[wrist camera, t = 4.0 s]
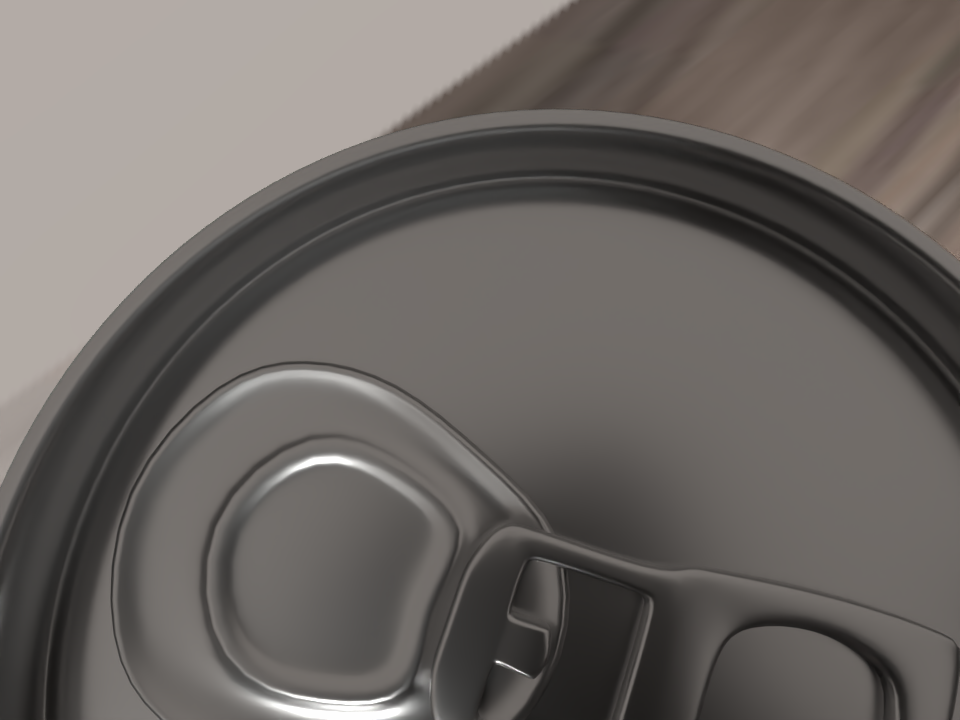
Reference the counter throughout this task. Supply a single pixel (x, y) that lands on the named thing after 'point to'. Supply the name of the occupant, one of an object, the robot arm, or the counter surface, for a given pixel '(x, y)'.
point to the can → (506, 448)
